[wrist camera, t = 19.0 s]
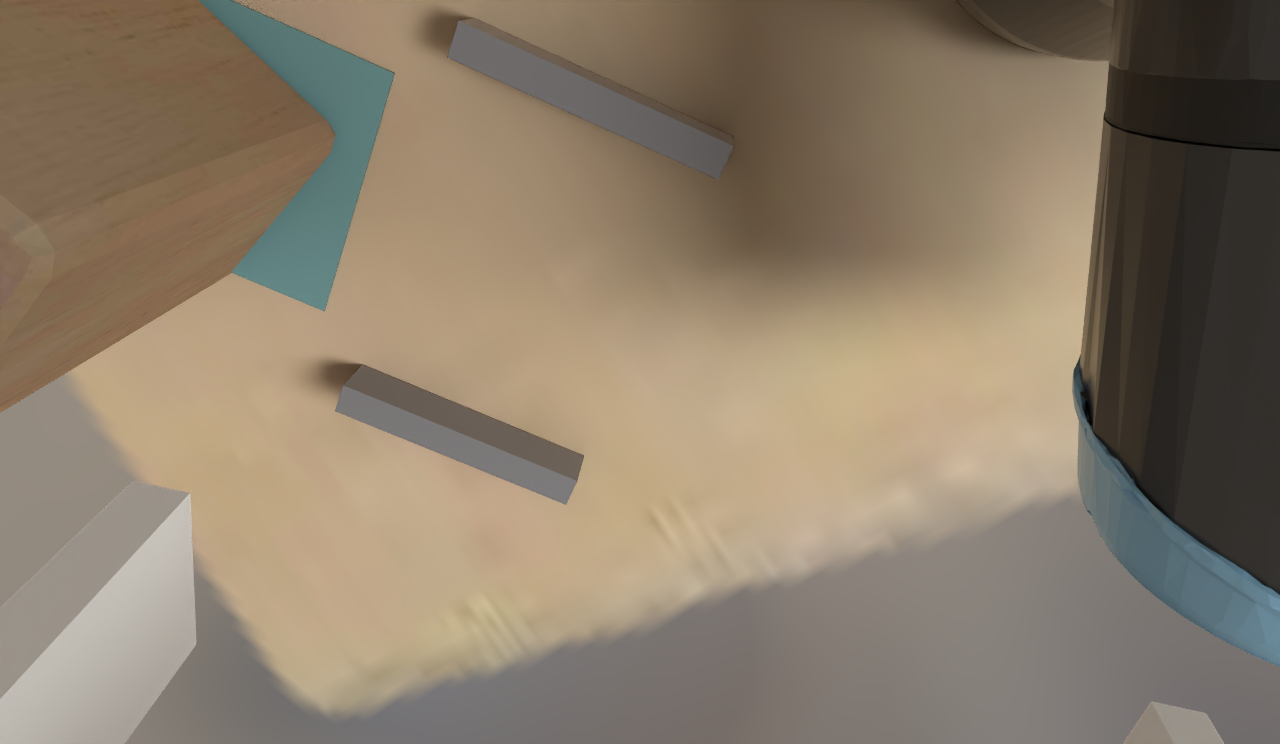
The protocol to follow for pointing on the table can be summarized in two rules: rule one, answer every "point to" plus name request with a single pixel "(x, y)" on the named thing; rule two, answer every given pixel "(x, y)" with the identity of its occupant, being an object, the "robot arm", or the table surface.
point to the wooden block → (130, 170)
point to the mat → (323, 208)
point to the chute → (601, 105)
